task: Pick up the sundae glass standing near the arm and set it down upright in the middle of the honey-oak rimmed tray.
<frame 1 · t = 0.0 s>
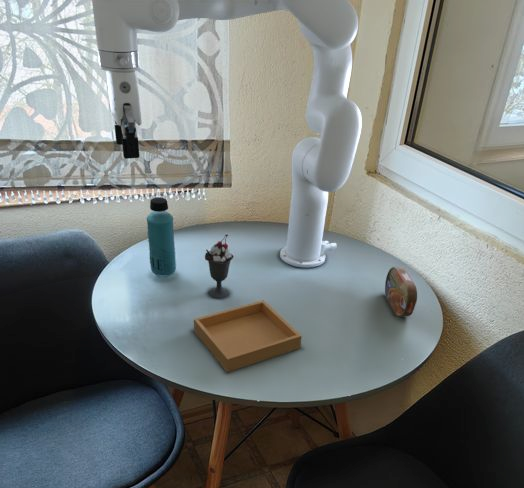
hand: (127, 150, 110), 31 cm above the table, tool pointing down, fingers open, 9 cm apart
beverage bottle: (163, 276, 131), on the table
sundae: (219, 293, 126), on the table
tin: (396, 306, 126), on the table
tray: (246, 339, 111), on the table
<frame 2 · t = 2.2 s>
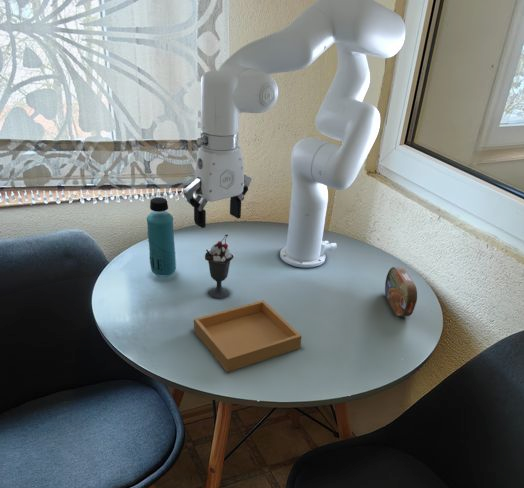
hand: (218, 220, 114), 19 cm above the table, tool pointing down, fingers open, 9 cm apart
nothing on the table moved.
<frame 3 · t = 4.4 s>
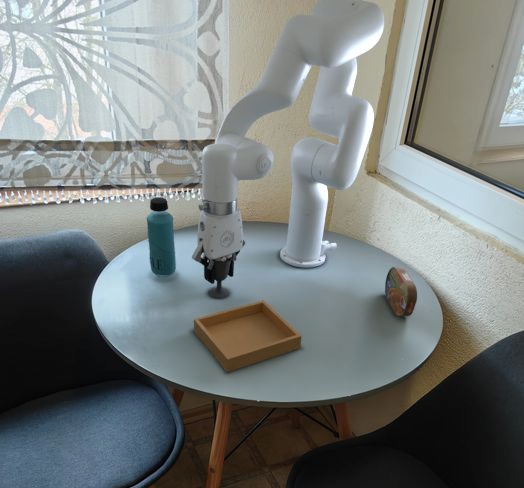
hand: (219, 277, 123), 4 cm above the table, tool pointing down, fingers closed on sundae, 4 cm apart
sundae: (219, 293, 126), on the table, touching gripper
everything else where it was.
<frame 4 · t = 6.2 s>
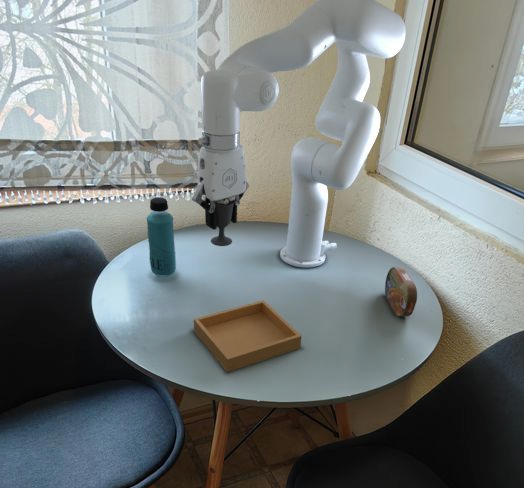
hand: (221, 223, 115), 18 cm above the table, tool pointing down, fingers closed on sundae, 4 cm apart
sundae: (221, 242, 118), point 13 cm above the table, touching gripper
everything else where it was.
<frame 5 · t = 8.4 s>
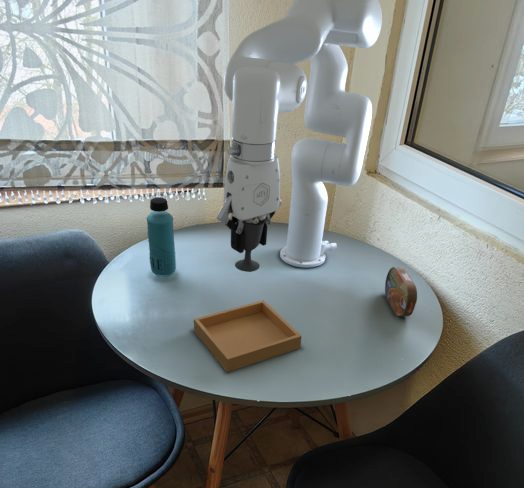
hand: (248, 245, 99), 22 cm above the table, tool pointing down, fingers closed on sundae, 4 cm apart
sundae: (247, 266, 102), point 17 cm above the table, touching gripper
everything else where it was.
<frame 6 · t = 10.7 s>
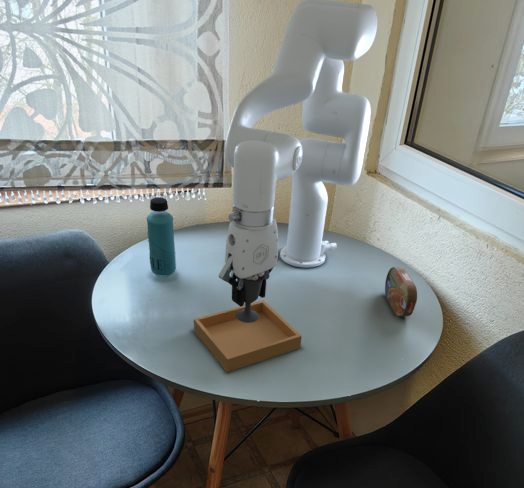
hand: (248, 298, 105), 11 cm above the table, tool pointing down, fingers closed on sundae, 4 cm apart
sundae: (247, 317, 108), point 6 cm above the table, touching gripper
everything else where it was.
when the fingers open (5 cm above the table, at t = 12.4 s): sundae stays where it is, resting on tray.
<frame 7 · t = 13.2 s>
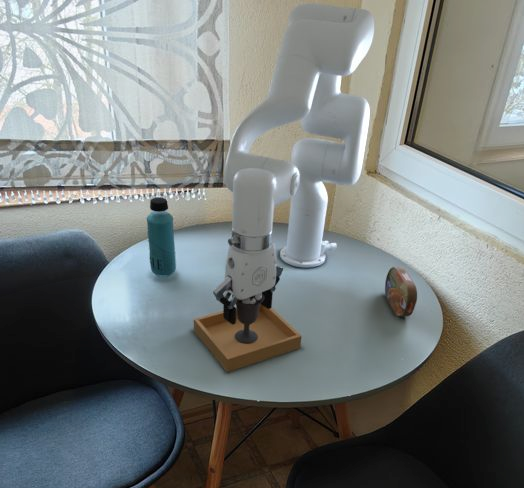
hand: (247, 313, 107), 7 cm above the table, tool pointing down, fingers open, 9 cm apart
sundae: (246, 337, 111), point 1 cm above the table, touching tray
everything else where it was.
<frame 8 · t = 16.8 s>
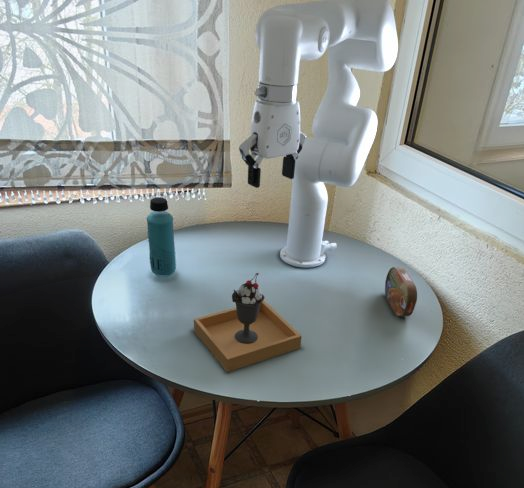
hand: (271, 181, 109), 28 cm above the table, tool pointing down, fingers open, 9 cm apart
nothing on the table moved.
at the end: sundae inside the target area in the tray (0.0 cm from its centre), point 0.6 cm above the tray's base; sundae tilted 0°; the gripper is holding nothing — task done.
